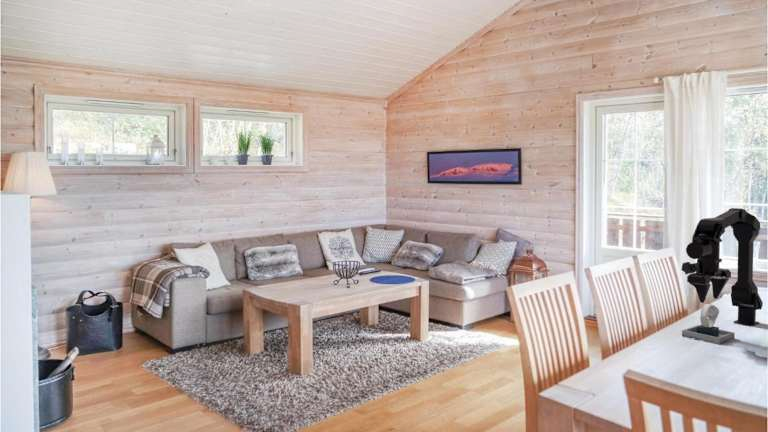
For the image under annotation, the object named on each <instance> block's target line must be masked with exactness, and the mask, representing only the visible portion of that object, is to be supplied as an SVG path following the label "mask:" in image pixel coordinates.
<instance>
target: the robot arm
mask: <svg viewBox="0 0 768 432" xmlns="http://www.w3.org/2000/svg"><path fill="white" fill-rule="evenodd" d="M728 227H731V229H732V235H733V237H734V238H735V239H736V241H737V280H736V281H735V283H734V284H732V286H730V287H731V288H730V289H731V292H730V301H731V305H732V307H737V320H734V321H733V323H734V324H739V325H745V326H749V327H753V326H757V325H758V324H760V321H756V317H757V316H756V315H757V313H756V312H757V310H762V309H763V304H764V302H763V301H762V298H761V296H760V294H759V289H758V286H757V285H756V283H755V282H754V278H753V277H754V273H753V271H754V242H755V241H756V239H757V237H758V236H759V235H760V229H761V222H760V221H759V219H758V218H757V217H756V216H755V215H754V214H752V213H749V212H748V211H747V210H746V209H745V208H737V207H731V208H729V209H728V210H726V211H725V212H723V213H721V214H719V215H717V216H715V217H708V218H701V219H700V220H699V221H698V223H697V225H696V227H695V230H694V232H693V235H692V240H691V242H689V243H688V244H687V246H686V248H685V253H686V254H687V256H688V257H689V258H690V259H693V260H696V262H693V263H691V262H689V261H687V262H682V264H681V265H682V266H681V271H682V272H683V273H684V274H685V275H687V277H686V281H687V283H689V284H690V285H692V286H693V287H694V288H695V291H696V293H697V297H698V300H699V303H700V304H701V303H702V304H703V303H704V304H705V301H706V299H707V296H708V293H709V291H710V287H711V286H712V287H711V288H712V297H713V299H715V300H716V299H719V296H720V294H721V293H722V291H723V289H724V288H725V286H726V285H727V283H728V281H729V280H730V278H732V272H731V270H729V269H728V268H722V267H721V268H720V263H722V261H723V258H720V252H721V251H720V248H721V246H720V245H721V244H720V243H722V242H723V239H722V238H721V237H722V235H723V234H724V233H726V229H727V228H728Z"/></svg>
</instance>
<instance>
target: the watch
mask: <svg viewBox="0 0 768 432" xmlns="http://www.w3.org/2000/svg"><path fill="white" fill-rule="evenodd" d="M719 314H720V309H719V308H718V307H717V306H716V305H714V304H711V303H704V304H703V305H702V307H701V310H700V317H699V318H700V319H699V320H700V324H699V325H700V326H697V333H700V334H705V335H709V336H714V337H718V336H719V330H720V327H719V326H714V325H715V323H716V321H717V319H718V316H719Z"/></svg>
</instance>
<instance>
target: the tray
mask: <svg viewBox="0 0 768 432" xmlns="http://www.w3.org/2000/svg"><path fill="white" fill-rule="evenodd" d="M700 325H701V324H698V325H694V326H690V327H688V328H684V329H682V330H681V337H683V336H684V338H688V337H689V338H688V339H692V338H694V339H693V340H697V339H698V341H701V340H703V341H702V342H705V343H710V344H714V343H715V345H722V344H725V343H726V342H729V340H730V341H733V340H735V332H733V331H729V330H725V329H724V330H723V329H719V336H718V337H714V336H709V335H705V334H700V333H697V326H700Z"/></svg>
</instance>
